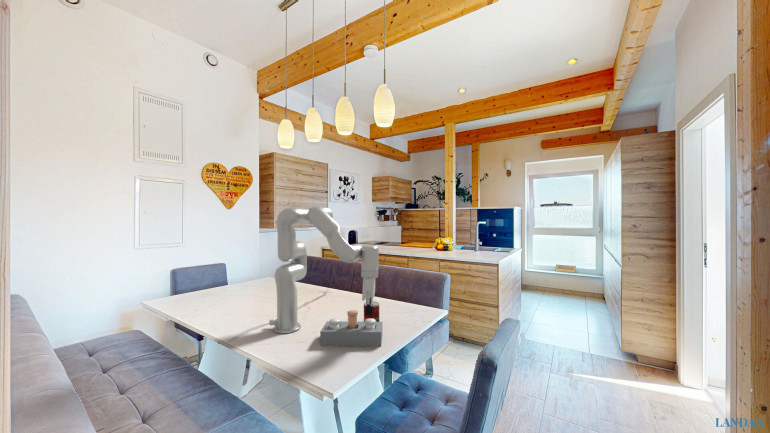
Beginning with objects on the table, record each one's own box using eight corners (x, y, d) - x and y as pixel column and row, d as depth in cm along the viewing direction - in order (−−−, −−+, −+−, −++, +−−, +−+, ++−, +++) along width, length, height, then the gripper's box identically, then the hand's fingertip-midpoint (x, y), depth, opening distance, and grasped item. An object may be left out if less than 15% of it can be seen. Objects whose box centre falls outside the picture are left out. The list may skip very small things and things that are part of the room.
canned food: (377, 328, 143) (377, 306, 143) (361, 327, 145) (361, 305, 145) (380, 322, 151) (380, 301, 151) (366, 321, 152) (365, 300, 152)
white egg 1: (328, 340, 128) (328, 321, 128) (330, 335, 133) (330, 318, 133) (339, 340, 128) (338, 322, 128) (340, 335, 132) (340, 318, 132)
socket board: (320, 345, 124) (320, 331, 124) (326, 334, 136) (326, 321, 136) (381, 346, 123) (381, 332, 123) (382, 334, 135) (382, 321, 135)
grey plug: (364, 340, 127) (364, 322, 127) (365, 336, 132) (365, 318, 132) (375, 340, 127) (375, 322, 127) (376, 336, 132) (375, 318, 132)
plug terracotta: (346, 331, 128) (346, 313, 128) (348, 327, 132) (348, 310, 132) (357, 331, 128) (356, 313, 127) (358, 327, 132) (358, 310, 132)
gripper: (363, 269, 137) (362, 308, 137) (359, 276, 122) (358, 320, 122) (379, 270, 137) (378, 309, 137) (377, 277, 122) (376, 320, 122)
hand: (368, 314), depth 130 cm, fingers closed
